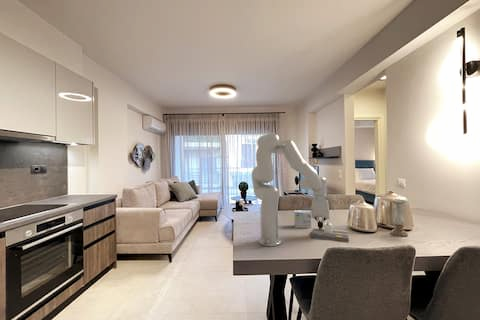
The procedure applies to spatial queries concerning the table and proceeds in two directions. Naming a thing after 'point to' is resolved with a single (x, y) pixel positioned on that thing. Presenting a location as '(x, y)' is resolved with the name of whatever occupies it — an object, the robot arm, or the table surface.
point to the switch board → (330, 235)
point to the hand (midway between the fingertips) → (320, 228)
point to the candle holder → (398, 219)
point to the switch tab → (327, 227)
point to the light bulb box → (302, 219)
